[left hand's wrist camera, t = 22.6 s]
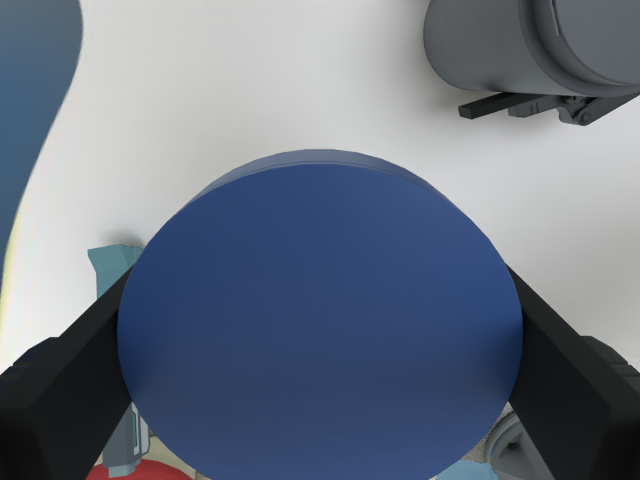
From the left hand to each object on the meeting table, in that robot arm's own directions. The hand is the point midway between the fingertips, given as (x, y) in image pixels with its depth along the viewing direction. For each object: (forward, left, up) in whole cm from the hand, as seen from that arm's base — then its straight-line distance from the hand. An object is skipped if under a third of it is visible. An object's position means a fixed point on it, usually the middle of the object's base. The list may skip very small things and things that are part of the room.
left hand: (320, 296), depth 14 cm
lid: (0, 0, +3) cm, 3 cm away
